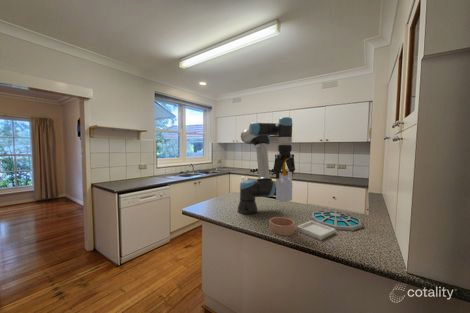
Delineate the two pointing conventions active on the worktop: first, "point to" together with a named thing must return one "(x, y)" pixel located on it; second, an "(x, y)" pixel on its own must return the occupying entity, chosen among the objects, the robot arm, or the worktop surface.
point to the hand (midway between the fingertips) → (284, 183)
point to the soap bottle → (284, 186)
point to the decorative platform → (337, 220)
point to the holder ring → (286, 223)
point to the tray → (316, 230)
